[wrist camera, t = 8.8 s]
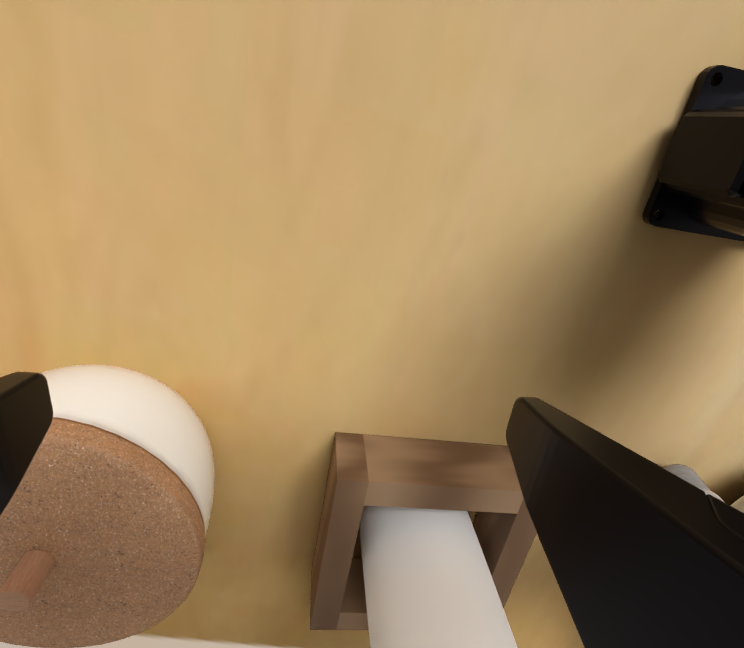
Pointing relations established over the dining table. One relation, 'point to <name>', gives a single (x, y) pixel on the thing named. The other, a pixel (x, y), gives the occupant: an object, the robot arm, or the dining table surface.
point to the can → (428, 581)
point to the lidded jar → (105, 512)
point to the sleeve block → (412, 490)
